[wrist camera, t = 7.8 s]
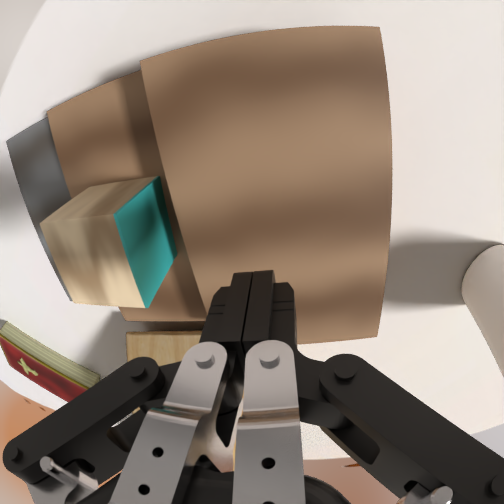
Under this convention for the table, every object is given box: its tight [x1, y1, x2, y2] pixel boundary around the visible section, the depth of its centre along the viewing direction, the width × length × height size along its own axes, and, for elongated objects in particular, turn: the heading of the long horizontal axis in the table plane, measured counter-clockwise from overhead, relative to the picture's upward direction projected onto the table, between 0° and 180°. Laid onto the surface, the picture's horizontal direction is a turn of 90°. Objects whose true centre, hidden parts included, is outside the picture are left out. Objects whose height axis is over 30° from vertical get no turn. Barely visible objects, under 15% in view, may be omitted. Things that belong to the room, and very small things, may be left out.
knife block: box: [126, 331, 244, 471], centre depth 25 cm, size 11×35×31 cm, turn 12°
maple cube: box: [39, 176, 177, 308], centre depth 18 cm, size 6×6×6 cm
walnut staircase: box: [6, 26, 392, 344], centre depth 21 cm, size 20×32×6 cm, turn 99°
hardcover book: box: [0, 321, 100, 402], centre depth 40 cm, size 12×21×4 cm, turn 68°
